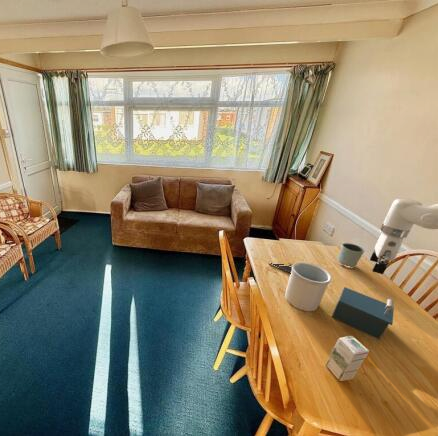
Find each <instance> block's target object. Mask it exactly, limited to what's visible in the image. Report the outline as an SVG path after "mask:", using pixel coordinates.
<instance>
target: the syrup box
mask: <svg viewBox="0 0 438 436" xmlns="http://www.w3.org/2000/svg"><path fill="white" fill-rule="evenodd" d="M369 353H370V350H369V349H368V348H367V347H365V346H364V345H363V344H362V343H361V342H360V341H359V340H358V339H356V337H355V336H353V335H347V336H342V337H339V338H338V339H337V341H336V343H335V345H334V346H333V348H332V351H331V353H330V355H329V357H328V359H327V361H326V363H325V367H326V368H327V369H328V371H330V372H331V374H332V375H333V376H334V377H335V378H336V380H337V381H338V382H343V381H348V380H354V378H355V376H356V374H357V373H358V371H359V369H360V367H361V366H362V364H363V363H364V361H365V359H366V358H367V356H368V355H369Z"/></svg>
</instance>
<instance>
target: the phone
mask: <svg viewBox="0 0 438 436" xmlns="http://www.w3.org/2000/svg"><path fill="white" fill-rule="evenodd" d="M271 264H272V263H271ZM289 264H290V263H289ZM273 265H275V266H277V267H279V268H281V269H283V270H286V271H288V272H290V273H291V271H292V267H289V266H291V265H292V266H293V264H290V265H289V266H279V265H284V264H273ZM279 268H278V269H279ZM281 269H280V270H281ZM283 270H282V271H283ZM286 271H285V272H286ZM288 272H287V273H288ZM290 273H289V274H290Z"/></svg>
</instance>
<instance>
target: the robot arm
mask: <svg viewBox="0 0 438 436" xmlns="http://www.w3.org/2000/svg"><path fill="white" fill-rule="evenodd" d="M414 225H416V226H418V227H421V228H423V229H428V230H438V203H435V204H432V205H428V206H424V205H423V204H422V202H421V201H418V200H415V199H410V198H396V199H394V201H392V204H391V206H390V207H389V210H388V212H387V213H386V216H385V218H384V220H383V222H382V225H381V226H380V228H379V232H380V235H379V237H378V239H377V240H376V243H375V245H374V250H373V252H372V254H371V256H370V258H369V261H370V262H374V263H375V264H374V266H373V268H372V272H373V273H377V274H380V275H384V274H385V272H386V270H387V267H388V266H389V263H390V262H394V261H395V260H396V257H397V256H398V253H399V251H400V248H401V246H402V245H403V241H404V239H406V238H407V237H408V235H409V234H410V232H411V230H412V228H413V226H414Z"/></svg>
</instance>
